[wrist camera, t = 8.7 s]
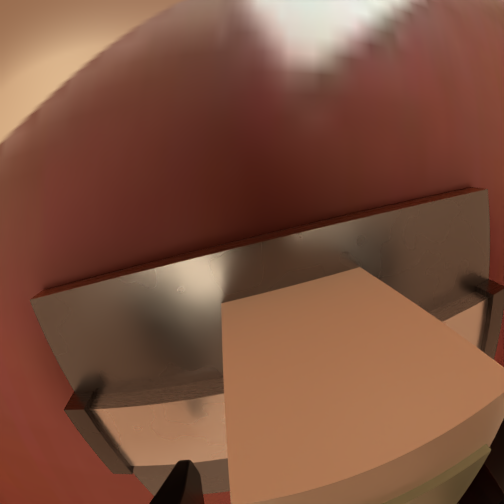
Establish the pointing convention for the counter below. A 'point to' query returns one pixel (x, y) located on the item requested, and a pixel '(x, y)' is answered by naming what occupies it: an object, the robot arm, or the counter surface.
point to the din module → (352, 397)
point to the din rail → (210, 322)
